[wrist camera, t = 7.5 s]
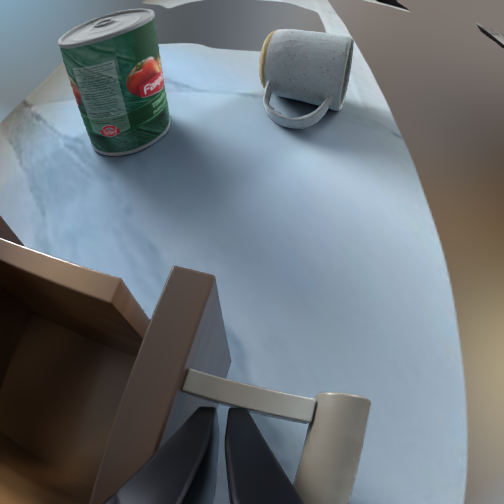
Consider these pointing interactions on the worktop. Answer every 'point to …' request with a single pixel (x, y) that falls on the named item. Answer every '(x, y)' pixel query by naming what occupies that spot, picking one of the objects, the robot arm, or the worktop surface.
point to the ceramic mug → (305, 72)
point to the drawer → (132, 384)
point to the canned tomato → (118, 80)
